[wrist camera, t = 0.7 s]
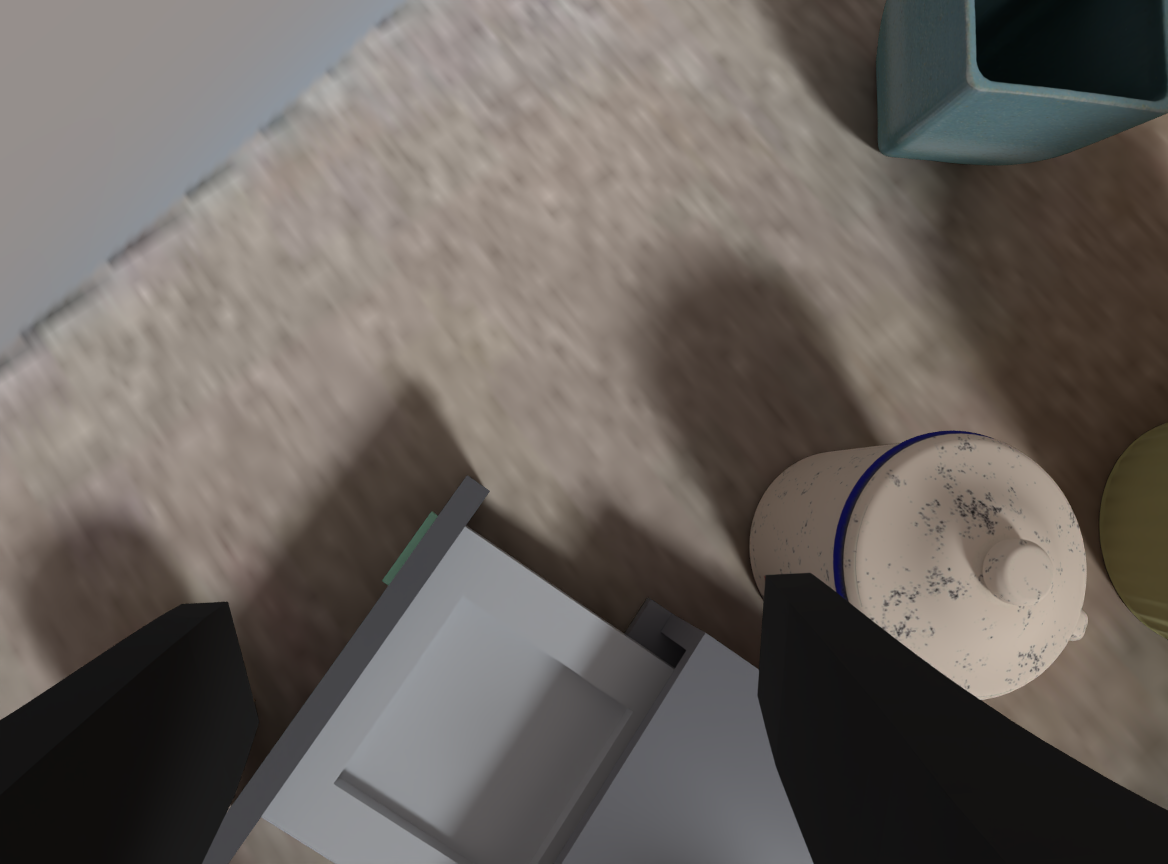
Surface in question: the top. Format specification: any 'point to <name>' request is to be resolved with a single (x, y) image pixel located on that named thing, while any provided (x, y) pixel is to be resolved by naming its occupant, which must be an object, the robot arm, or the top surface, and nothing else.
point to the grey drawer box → (692, 767)
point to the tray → (454, 716)
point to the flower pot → (1016, 76)
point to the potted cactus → (1139, 528)
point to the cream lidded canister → (936, 551)
